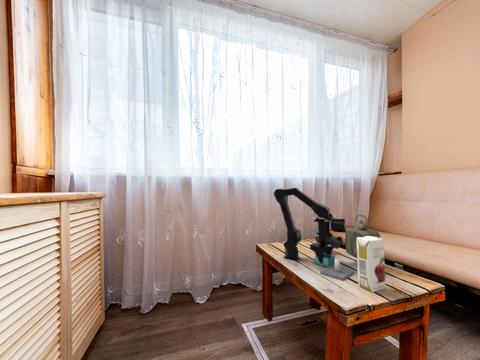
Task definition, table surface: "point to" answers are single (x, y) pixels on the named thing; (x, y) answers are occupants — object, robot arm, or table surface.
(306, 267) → the table surface
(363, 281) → the juice carton
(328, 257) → the teal square ring
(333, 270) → the station
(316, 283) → the table surface
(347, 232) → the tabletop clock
